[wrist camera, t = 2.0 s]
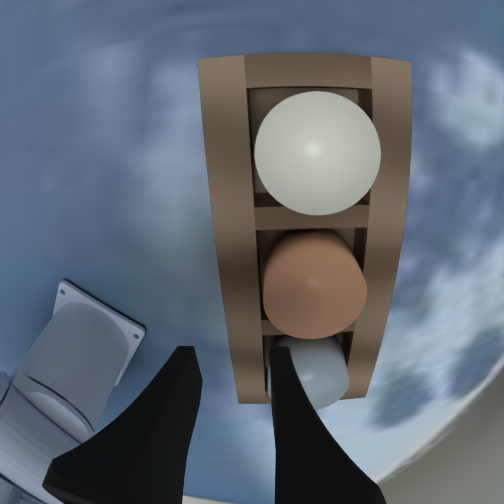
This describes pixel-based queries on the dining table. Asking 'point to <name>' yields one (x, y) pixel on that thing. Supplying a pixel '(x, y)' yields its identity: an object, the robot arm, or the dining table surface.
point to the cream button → (317, 153)
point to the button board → (286, 220)
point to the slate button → (317, 368)
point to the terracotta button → (312, 284)
